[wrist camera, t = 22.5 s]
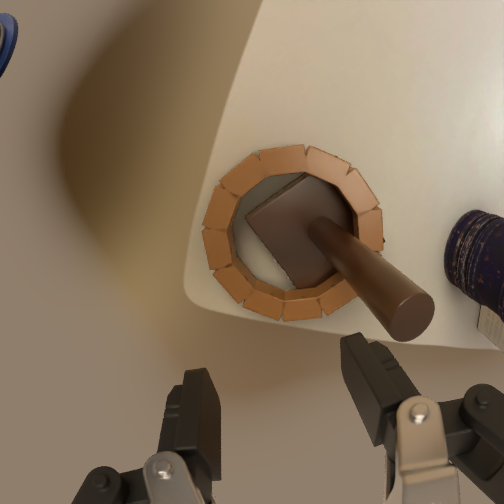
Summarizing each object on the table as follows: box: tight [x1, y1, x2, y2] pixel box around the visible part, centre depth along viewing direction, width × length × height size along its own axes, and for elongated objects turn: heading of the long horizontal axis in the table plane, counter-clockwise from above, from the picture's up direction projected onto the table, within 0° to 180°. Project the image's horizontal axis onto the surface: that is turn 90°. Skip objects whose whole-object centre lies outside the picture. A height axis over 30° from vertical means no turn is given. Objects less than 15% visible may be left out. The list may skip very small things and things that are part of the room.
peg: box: [246, 156, 435, 342], centre depth 18 cm, size 9×9×16 cm
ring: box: [202, 145, 383, 321], centre depth 23 cm, size 14×14×2 cm
